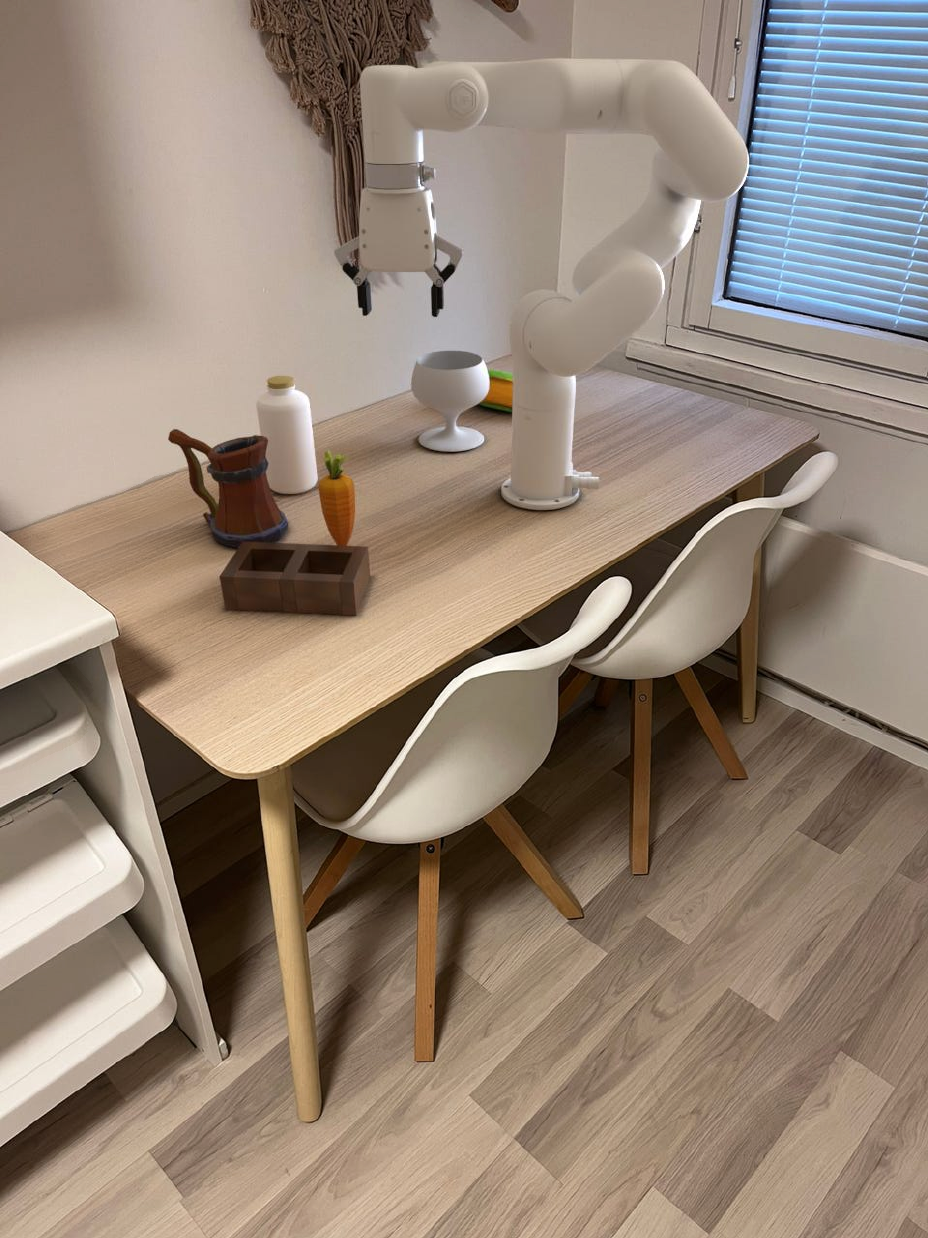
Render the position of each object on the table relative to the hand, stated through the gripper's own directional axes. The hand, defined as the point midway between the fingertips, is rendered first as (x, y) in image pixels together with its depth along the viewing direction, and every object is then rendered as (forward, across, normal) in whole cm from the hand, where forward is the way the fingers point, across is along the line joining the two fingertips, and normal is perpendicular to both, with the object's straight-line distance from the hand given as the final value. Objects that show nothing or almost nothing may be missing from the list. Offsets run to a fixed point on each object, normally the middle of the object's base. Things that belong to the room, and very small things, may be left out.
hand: (401, 313), depth 125 cm
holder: (+30, +11, +26) cm, 41 cm away
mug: (+31, +26, +8) cm, 41 cm away
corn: (+31, -12, -48) cm, 58 cm away
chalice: (+31, -3, -30) cm, 43 cm away
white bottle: (+31, +21, -8) cm, 38 cm away
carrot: (+31, +8, +13) cm, 34 cm away
